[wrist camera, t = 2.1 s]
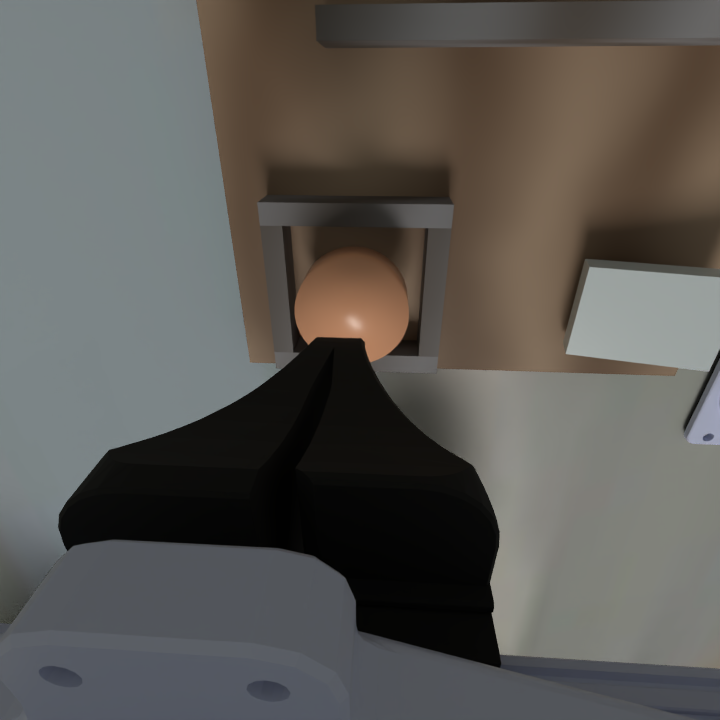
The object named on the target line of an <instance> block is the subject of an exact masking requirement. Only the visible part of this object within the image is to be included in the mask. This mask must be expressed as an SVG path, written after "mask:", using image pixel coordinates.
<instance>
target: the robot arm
mask: <svg viewBox="0 0 720 720" xmlns="http://www.w3.org/2000/svg"><path fill="white" fill-rule="evenodd" d="M706 434H707V435H706ZM704 435H705V436H704ZM684 437H685V439H686V440H687V441H688V442H690V443H693V444H712V445H720V359H719V361H718V363H717V366H716V368H715V370H714V372H713V374H712V376H711V378H710V380H709V382H708V384H707V386H706V388H705V390H704V392H703V395H702V397H701V399H700V401H699V403H698V405H697V407H696V409H695V411H694V413H693V415H692V417H691V419H690V421H689V424H688V426H687V428H686V430H685V432H684ZM58 528H59V531H60V534H61V537H62V540H63V543H64V546H65V547H66V549H67V552H66V553H65V554H64V555H63V556H62V557H61V558H60V559H59V560H58V561H57V562H56V563H55V564H54V566H53V567H52V569H51V570H50V571H49V573H48V574H47V575H46V577H45V578H44V580H43V581H42V582H41V584H40V585H39V586H38V588H37V589H36V591H35V592H34V593H33V595H32V596H31V598H30V599H29V600H28V602H27V603H26V604H25V606H24V607H23V609H22V610H21V611H20V613H19V614H18V615H17V617H16V618H15V620H14V621H13V622H12V624H6V623H0V720H720V669H716V668H701V667H685V666H669V665H653V664H637V663H622V662H606V661H590V660H574V659H559V658H543V657H527V656H511V655H500V654H499V649H498V644H497V639H496V634H495V629H494V623H493V618H492V613H491V612H493V610H494V600H493V596H492V591H491V586H490V580H491V576H492V572H493V568H494V564H495V560H496V556H497V552H498V548H499V533H500V531H499V528H498V523H497V519H496V516H495V513H494V510H493V508H492V505H491V502H490V500H489V498H488V495H487V493H486V491H485V488H484V486H483V484H482V482H481V480H480V478H479V476H478V474H477V472H476V470H475V468H474V467H473V466H472V465H471V464H469V463H468V462H466V461H464V460H463V459H461V458H459V457H458V456H456V455H454V454H453V453H451V452H449V451H448V450H446V449H444V448H443V447H441V446H440V445H438V444H437V443H436V442H434V441H433V440H432V439H430V438H429V437H428V436H426V435H425V434H424V433H423V432H422V431H420V430H419V429H418V428H417V427H416V426H415V425H414V424H413V423H412V422H410V420H409V419H408V418H407V417H406V416H405V415H404V414H403V413H402V412H401V411H400V409H399V408H398V407H397V406H396V405H395V403H394V402H393V401H392V399H391V398H390V397H389V395H388V394H387V392H386V391H385V389H384V388H383V386H382V384H381V383H380V381H379V379H378V378H377V376H376V374H375V372H374V370H373V368H372V366H371V363H370V361H369V358H368V356H367V353H366V349H365V342H364V341H363V340H362V339H361V338H336V337H316V338H315V339H314V340H313V341H312V342H311V343H310V344H309V345H308V346H307V347H306V348H304V349H303V350H302V351H301V352H300V353H299V354H298V355H297V356H296V357H295V358H294V359H293V360H292V361H291V362H289V363H288V364H287V365H286V366H285V367H284V368H283V369H281V370H280V371H279V372H278V373H276V374H275V375H274V376H273V377H271V378H270V379H269V380H267V381H266V382H265V383H264V384H262V385H261V386H259V387H258V388H256V389H255V390H253V391H252V392H250V393H249V394H247V395H246V396H244V397H242V398H241V399H239V400H237V401H236V402H234V403H232V404H230V405H228V406H226V407H224V408H222V409H220V410H218V411H216V412H214V413H212V414H210V415H208V416H206V417H204V418H202V419H200V420H198V421H195V422H193V423H190V424H188V425H186V426H183V427H180V428H178V429H175V430H172V431H170V432H167V433H164V434H161V435H158V436H156V437H152V438H149V439H146V440H142V441H139V442H136V443H132V444H129V445H125V446H122V447H119V448H115V449H111V450H109V451H108V452H107V453H106V454H105V455H104V456H103V458H102V459H101V460H100V461H99V463H98V464H97V465H96V466H95V467H94V469H93V470H92V471H91V472H90V474H89V475H88V476H87V477H86V479H85V480H84V481H83V482H82V484H81V485H80V486H79V487H78V488H77V490H76V491H75V492H74V493H73V495H72V496H71V497H70V498H69V500H68V501H67V502H66V504H65V505H64V507H63V509H62V510H61V512H60V514H59V524H58Z"/></svg>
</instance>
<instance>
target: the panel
mask: <svg viewBox="0 0 720 720" xmlns="http://www.w3.org/2000/svg"><path fill="white" fill-rule="evenodd" d="M196 1H197V8H198V15H199V21H200V28H201V35H202V41H203V48H204V55H205V62H206V68H207V75H208V82H209V88H210V95H211V102H212V109H213V115H214V122H215V129H216V135H217V142H218V149H219V156H220V162H221V169H222V176H223V182H224V189H225V196H226V203H227V209H228V216H229V223H230V230H231V236H232V243H233V250H234V256H235V263H236V270H237V277H238V283H239V290H240V297H241V303H242V310H243V317H244V324H245V330H246V337H247V344H248V350H249V357H250V362H253V363H276V368H282V369H283V368H284V367H285V366H286V365H287V364H288V363H289V362H291V361H292V360H293V359H294V358H295V357H296V356H297V355H298V354H299V353H300V352H301V351H302V350H303V349H304V348H306V347H307V346H308V344H307V342H306V341H305V340H304V339H303V337H302V335H301V334H300V332H299V329H298V327H297V324H296V320H295V300H296V296H297V293H298V291H299V289H300V287H301V285H302V282H303V280H304V278H305V276H306V274H307V272H308V271H309V269H310V268H311V266H312V265H313V264H314V263H315V262H316V261H317V260H318V259H319V258H320V257H321V256H323V255H324V254H326V253H328V252H330V251H332V250H335V249H338V248H342V247H349V246H357V247H364V248H369V249H372V250H375V251H377V252H379V253H381V254H383V255H384V256H385V257H387V258H388V259H389V260H391V261H392V262H393V263H394V264H395V266H396V267H397V268H398V269H399V271H400V272H401V274H402V276H403V278H404V280H405V284H406V287H407V293H408V305H409V320H408V326H407V329H406V332H405V334H404V336H403V338H402V340H401V341H400V343H399V344H398V345H397V346H396V347H395V348H394V349H393V350H392V351H391V352H390V353H388V354H387V355H386V356H384V357H382V358H380V359H378V360H376V361H373V362H370V363H371V366H372V368H373V370H374V371H375V372H406V373H437V368H442V369H473V370H505V371H536V372H568V373H599V374H631V375H662V376H675V374H676V372H677V370H678V368H675V367H667V366H659V365H651V364H642V363H634V362H626V361H618V360H610V359H602V358H594V357H586V356H578V355H570V354H566V353H565V349H564V345H563V340H564V336H565V333H566V329H567V325H568V321H569V318H570V314H571V310H572V306H573V303H574V299H575V295H576V291H577V287H578V284H579V280H580V276H581V272H582V269H583V265H584V261H585V259H596V260H609V261H622V262H635V263H648V264H661V265H674V266H688V267H701V268H714V269H720V0H196Z"/></svg>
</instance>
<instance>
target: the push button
mask: <svg viewBox="0 0 720 720" xmlns="http://www.w3.org/2000/svg"><path fill="white" fill-rule="evenodd" d="M295 320H296V324H297V327H298V329H299V332H300V334H301V335H302V337H303V339H304V340H305V341H306V342H307V344H308V345H309V344H310V343H311V342H312V341H313V340H314V339H315V338H316V337H336V338H361V339H362V340H363V341H364V342H365V349H366V353H367V356H368V358H369V361H370V362H373V361H376V360H378V359H380V358H382V357H384V356H386V355H387V354H388V353H390V352H391V351H392V350H393V349H394V348H395V347H396V346H397V345H398V344H399V343H400V341H401V340H402V338H403V336H404V334H405V332H406V329H407V326H408V320H409V305H408V293H407V287H406V284H405V280H404V278H403V276H402V274H401V272H400V271H399V269H398V268H397V267H396V266H395V264H394V263H393V262H392V261H391V260H389V259H388V258H387V257H385V256H384V255H383V254H381V253H379V252H377V251H375V250H372V249H369V248H364V247H357V246H349V247H342V248H338V249H335V250H332V251H330V252H328V253H326V254H324V255H323V256H321V257H320V258H319V259H318V260H317V261H316V262H315V263H314V264H313V265H312V266H311V268H310V269H309V271H308V272H307V274H306V276H305V278H304V280H303V282H302V285H301V287H300V289H299V291H298V293H297V296H296V300H295Z"/></svg>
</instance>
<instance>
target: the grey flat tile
mask: <svg viewBox="0 0 720 720" xmlns="http://www.w3.org/2000/svg"><path fill="white" fill-rule="evenodd" d="M563 345H564V349H565V353H566V354H570V355H578V356H586V357H594V358H602V359H610V360H618V361H626V362H634V363H642V364H651V365H659V366H667V367H675V368H683V369H691V370H699V371H707V372H709V370H710V368H711V366H712V364H713V362H714V360H715V358H716V355H717V353H718V351H719V349H720V269H714V268H701V267H688V266H674V265H661V264H648V263H635V262H622V261H609V260H596V259H585V261H584V265H583V269H582V272H581V276H580V280H579V284H578V287H577V291H576V295H575V299H574V303H573V306H572V310H571V314H570V318H569V321H568V325H567V329H566V333H565V336H564V340H563Z"/></svg>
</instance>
